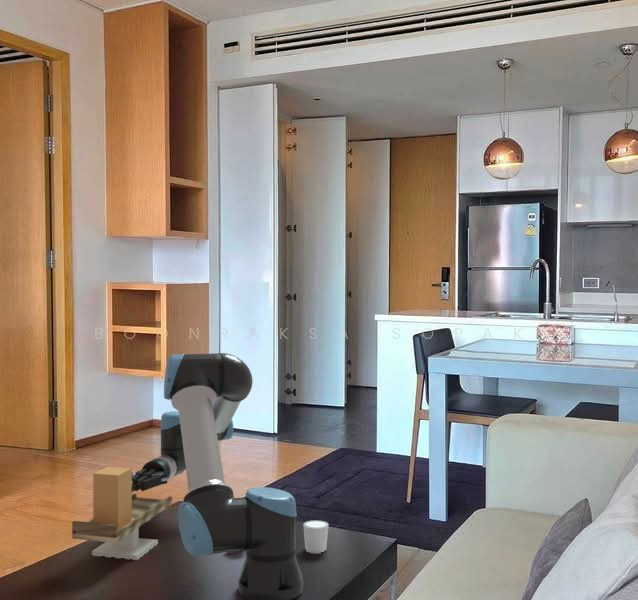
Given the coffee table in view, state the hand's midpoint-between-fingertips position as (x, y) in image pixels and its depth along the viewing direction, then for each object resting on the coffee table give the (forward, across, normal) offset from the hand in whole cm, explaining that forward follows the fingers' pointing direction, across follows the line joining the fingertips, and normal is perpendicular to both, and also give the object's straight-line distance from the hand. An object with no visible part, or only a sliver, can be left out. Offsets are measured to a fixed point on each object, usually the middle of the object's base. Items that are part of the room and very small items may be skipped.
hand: (118, 492), depth 191 cm
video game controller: (-12, -30, -17) cm, 36 cm away
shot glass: (-17, -50, -17) cm, 55 cm away
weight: (+4, 0, -7) cm, 8 cm away
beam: (-4, 0, -11) cm, 12 cm away
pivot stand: (-4, 0, -16) cm, 17 cm away
